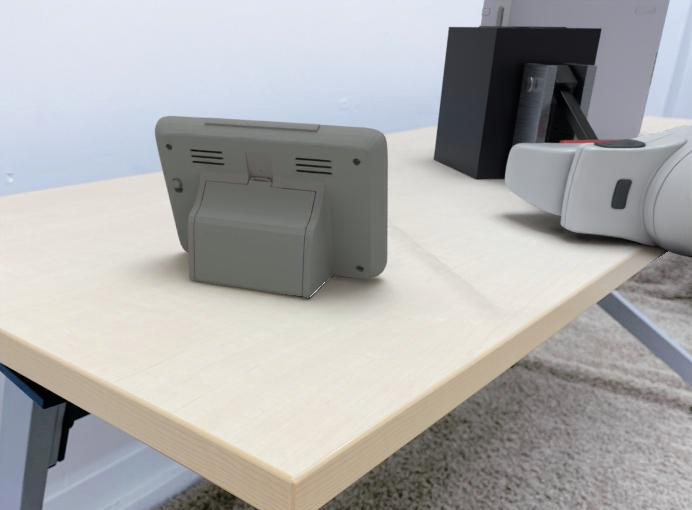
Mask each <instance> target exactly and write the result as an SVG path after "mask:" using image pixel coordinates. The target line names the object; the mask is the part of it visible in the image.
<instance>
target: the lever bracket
mask: <svg viewBox="0 0 692 510" xmlns="http://www.w3.org/2000/svg"><path fill="white" fill-rule="evenodd" d="M563 65H568V66H569V68H570V70H571V71H572V73H573V75H574V76H575V78H576V80H577V82H578V84H577V86H576V88H575V89H574V91H573V93H572V94H573V96H574V98H575V100H576V101H577V103H578V105H579V106H580V108H581V110H582V112H583V113H584V115H585V117H586V119H587V117H588V112H589V107H590V102H591V97H592V92H593V86H594V81H595V76H596V71H597V66H595V65H584V64H574V63H563ZM556 72H557V66H554V65H545V64H535V63H526V64H525V68H524V74H523V80H522V87H521V93H520V99H519V106H518V112H517V118H516V125H515V131H514V137H513V144H512V147H513V146H514V145H516V144H519V143H544V141H545V135H546V129H547V124H548V118H549V112H550V107H551V101H552V95H553V90H554V84H555V78H556ZM562 140H578V139H577V137H576V135H575V133H574V131H573V130H572V128H571V126H570V124H569V122H568V121H567V119H566V117H565V115H564V113H563V111H562V110H561V108H560V106H559V104H558V103H556V105H555V111H554V116H553V122H552V128H551V133H550V139H549V143H559V142H560V141H562Z"/></svg>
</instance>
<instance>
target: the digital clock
mask: <svg viewBox="0 0 692 510" xmlns="http://www.w3.org/2000/svg"><path fill="white" fill-rule="evenodd" d="M154 137H155V143H156V148H157V152H158V157H159V162H160V165H161V170H162V174H163V179H164V181H165V186H166V191H167V195H168V200H169V203H170V207H171V212H172V216H173V220H174V221H173V222H174V224H175V225H174V226H175V229H176V234H177V237H178V240H179V244H180V246H181V248H182V249H183V251H184V252H186V253H187V255H188V256H187V257H188V259H187V260H188V278H189V280H190V281H195V282H196V281H197V282H201V283H208V284H215V285H220V284H221V286H227V287H233V286H234V288H240V289H246V288H247V290H252V289H253V290H254V291H259V290H260V291H259V292H265V291H266V293H272V292H273V294H278V293H280V295H285V294H287V295H286V296H291V295H297V296H296V297H298V296H303V297H302V298H306V297H310V296H311V295H312V294H313V293H314V292H315V291H316V290H317V289H318V288H319V287H320V286H321V285H322V284H323V283H324V282H326V281H327V280H328V279H329V278H330V277H331V276H332V275H333V276H338V277H339V276H340V277H347V278H356V279H372V278H375V277H378V276H380V275H381V274H382V273H383V272H384V271H385V269H386V267H387V265H388V232H389V231H388V226H389V225H388V223H389V222H388V219H389V218H388V216H389V215H388V213H389V212H388V211H389V209H388V207H389V206H388V205H389V204H388V203H389V201H388V197H389V176H388V175H389V156H388V155H389V153H388V142H387V138H386V136H385V134H384V133H383V132H382V131H380V130H378V129H375V128H372V127H364V126H363V127H362V126H350V125H336V124H319V123H305V122H289V121H288V122H287V121H272V120H271V121H270V120H258V119H257V120H253V119H239V118H223V117H222V118H221V117H205V116H203V117H201V116H181V115H166V116H162V117H160V118H159V119H158V120H157V122H156V124H155V127H154ZM333 276H332V277H333ZM332 277H331V278H332ZM331 278H330V279H331ZM330 279H329V280H330ZM329 280H328V281H329ZM328 281H327V282H328ZM327 282H326V283H327Z"/></svg>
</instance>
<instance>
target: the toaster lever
mask: <svg viewBox="0 0 692 510" xmlns="http://www.w3.org/2000/svg"><path fill="white" fill-rule="evenodd" d="M554 66H557V72H556V78H555V84H554V90H553V95H552V101H551V103H558V104H559V106H560V108H561V110H562V111H563V113H564V115H565V117H566V119H567V121H568V122H569V124H570V126H571V128H572V130H573V131H574V133H575V135H576V137H577V139H578V140H562V141H560V142H559V143H595V142H600V141H615V140H623V139H614V140H599V139H598V138H597V136H596V134H595V132H594V131H593V129H592V127H591V126H590V124H589V122H588V120H587V119H586V117H585V115H584V113H583V112H582V110H581V108H580V106H579V105H578V103H577V101H576V100H575V98H574V96H573V94H572V93H573V91H574V89H575V88H576V86H577V84H578V82H577V80H576V78H575V76H574V75H573V73H572V71H571V70H570V68H569V66H568V65H554Z"/></svg>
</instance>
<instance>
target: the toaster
mask: <svg viewBox="0 0 692 510" xmlns="http://www.w3.org/2000/svg"><path fill="white" fill-rule="evenodd" d="M601 30H602V28H567V27H531V26H513V27H511V26H480V25H479V26H448V29H447V31H448V32H447V40H446V49H445V57H444V66H443V74H442V84H441V92H440V100H439V109H438V110H439V111H438V116H437V117H438V118H437V127H436V134H435V135H436V137H435V145H434V152H433V160H434V162H437V163H439V164H442V165H444V166H446V167H448V168H450V169H453V170H455V171H456V172H458V173H461V174H463V175H465V176H467V177H469V178H471V179H474V180H476V181H477V180H479V181H481V180H505V173H506V166H507V161H508V157H509V153H510V150H511V149H512V144H513V137H514V131H515V125H516V118H517V112H518V106H519V99H520V93H521V87H522V80H523V74H524V68H525V64H526V63H535V64H545V65H563V63H574V64H584V65H595V61H596V56H597V51H598V46H599V40H600V35H601ZM555 105H556V103H551V107H550V112H549V118H548V124H547V129H546V135H545V141H544V143H549V139H550V133H551V128H552V122H553V116H554V111H555Z"/></svg>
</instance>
